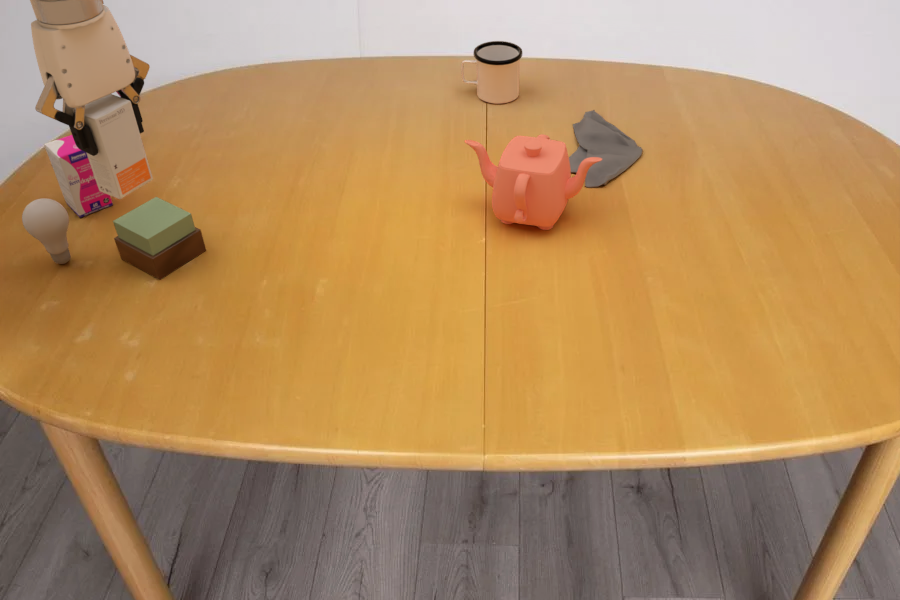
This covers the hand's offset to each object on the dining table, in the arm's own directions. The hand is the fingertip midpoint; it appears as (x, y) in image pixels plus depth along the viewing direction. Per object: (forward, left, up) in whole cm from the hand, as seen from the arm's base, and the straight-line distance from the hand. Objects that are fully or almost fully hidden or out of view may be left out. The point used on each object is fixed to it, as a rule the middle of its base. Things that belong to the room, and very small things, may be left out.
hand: (112, 139), depth 114 cm
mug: (+77, -7, -24) cm, 80 cm away
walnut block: (+5, +4, -23) cm, 24 cm away
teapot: (+47, -36, -24) cm, 63 cm away
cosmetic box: (0, 0, -7) cm, 7 cm away
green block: (+5, +4, -19) cm, 20 cm away
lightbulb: (-5, +15, -24) cm, 29 cm away
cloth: (+71, -36, -24) cm, 82 cm away
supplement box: (+7, +25, -24) cm, 35 cm away
